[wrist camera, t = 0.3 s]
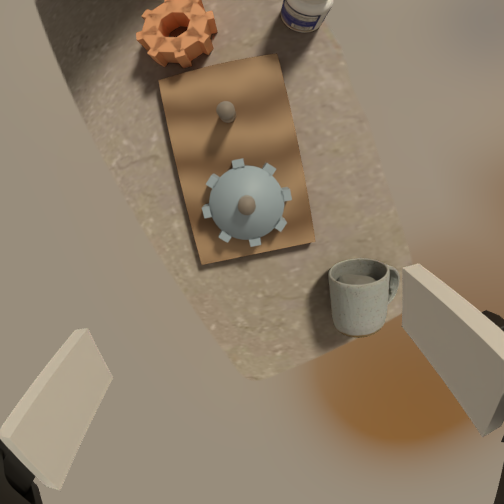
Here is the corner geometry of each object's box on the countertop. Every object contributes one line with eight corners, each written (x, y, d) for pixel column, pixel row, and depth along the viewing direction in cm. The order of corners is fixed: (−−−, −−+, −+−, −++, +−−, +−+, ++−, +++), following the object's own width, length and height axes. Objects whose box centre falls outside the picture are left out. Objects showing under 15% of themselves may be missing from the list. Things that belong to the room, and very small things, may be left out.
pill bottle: (299, -6, 28) (312, -40, 20) (330, 19, 29) (350, -11, 21) (271, 15, 29) (277, -19, 21) (302, 40, 31) (317, 11, 22)
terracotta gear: (143, 21, 29) (132, 8, 25) (210, 2, 29) (206, -14, 24) (153, 77, 32) (141, 68, 27) (223, 58, 31) (220, 46, 27)
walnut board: (161, 83, 32) (146, 71, 26) (275, 57, 31) (281, 40, 26) (203, 260, 39) (196, 279, 33) (313, 238, 38) (324, 253, 32)
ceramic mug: (327, 318, 42) (342, 349, 34) (321, 264, 39) (338, 288, 32) (394, 301, 41) (418, 326, 34) (393, 248, 39) (422, 268, 32)
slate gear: (196, 168, 34) (192, 169, 32) (279, 150, 33) (282, 150, 31) (215, 248, 37) (213, 254, 34) (295, 231, 36) (298, 237, 34)
